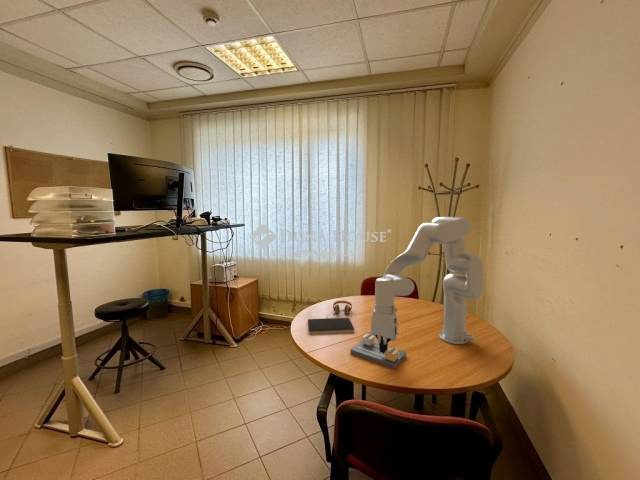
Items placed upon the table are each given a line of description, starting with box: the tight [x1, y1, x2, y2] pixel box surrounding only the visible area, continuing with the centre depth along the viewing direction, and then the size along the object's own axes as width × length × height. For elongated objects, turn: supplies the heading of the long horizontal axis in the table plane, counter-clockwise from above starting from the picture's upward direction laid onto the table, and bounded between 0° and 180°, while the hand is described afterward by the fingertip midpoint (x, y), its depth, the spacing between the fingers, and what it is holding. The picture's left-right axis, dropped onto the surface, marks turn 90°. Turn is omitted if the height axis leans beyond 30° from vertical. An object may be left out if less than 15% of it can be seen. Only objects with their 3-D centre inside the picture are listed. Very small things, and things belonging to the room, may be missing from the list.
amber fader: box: [385, 347, 399, 362], centre depth 114 cm, size 4×4×4 cm
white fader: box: [361, 333, 376, 346], centre depth 127 cm, size 4×4×4 cm
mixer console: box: [350, 340, 407, 370], centre depth 121 cm, size 20×12×2 cm, turn 52°
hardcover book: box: [307, 317, 355, 335], centre depth 151 cm, size 16×23×2 cm
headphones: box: [326, 300, 353, 321], centre depth 169 cm, size 17×5×20 cm
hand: (383, 351), depth 116 cm, fingers closed
